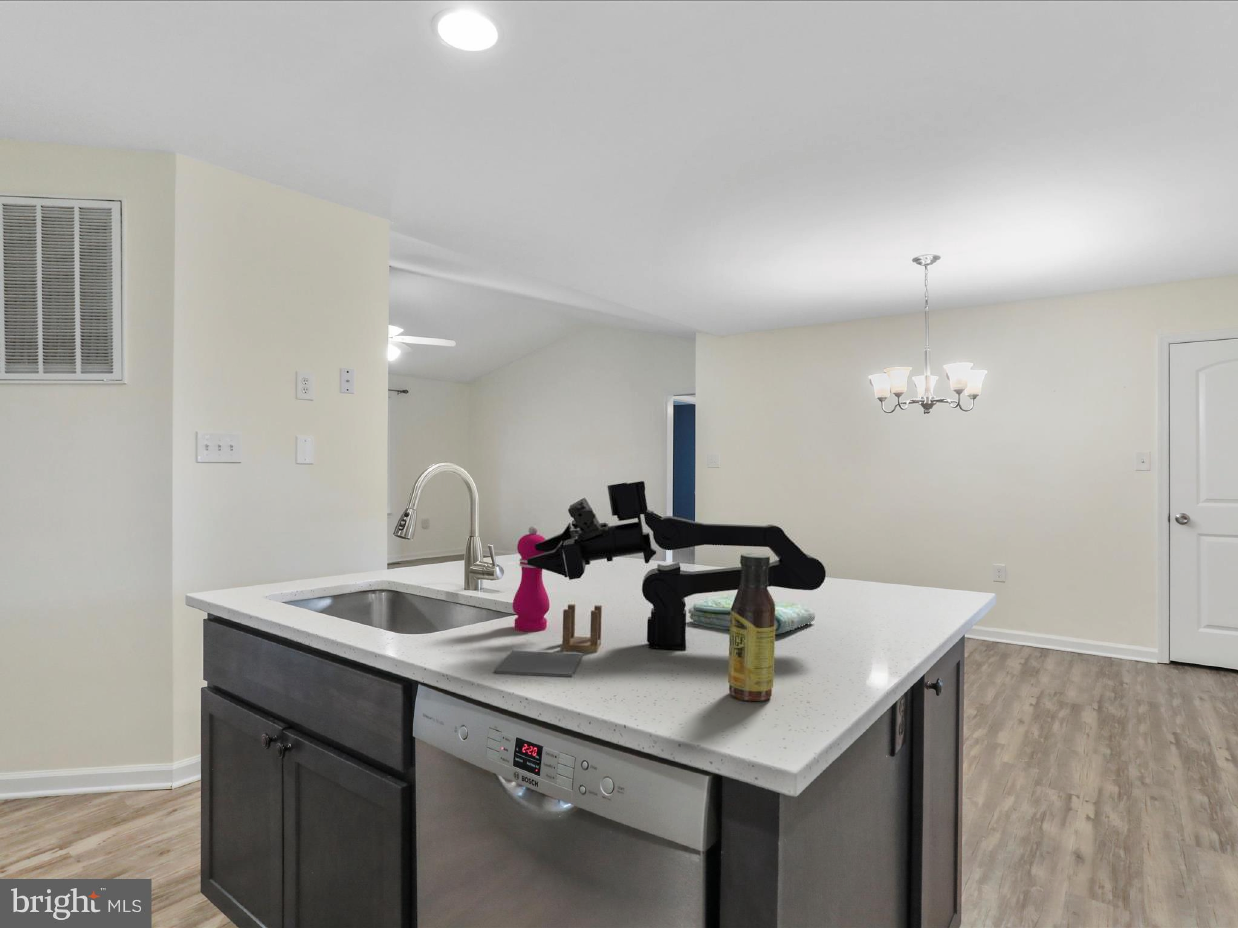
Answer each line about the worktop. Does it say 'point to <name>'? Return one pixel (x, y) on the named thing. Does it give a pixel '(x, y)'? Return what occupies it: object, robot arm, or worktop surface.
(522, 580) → the pepper mill
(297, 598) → the worktop surface
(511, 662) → the mat
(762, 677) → the sauce bottle
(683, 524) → the robot arm
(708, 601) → the towel
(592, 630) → the stool
